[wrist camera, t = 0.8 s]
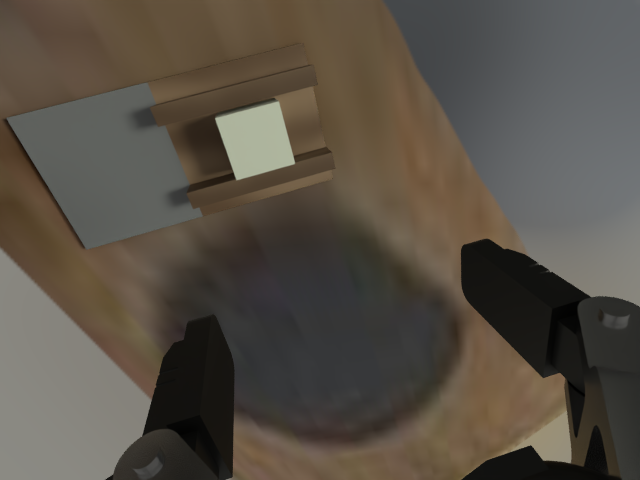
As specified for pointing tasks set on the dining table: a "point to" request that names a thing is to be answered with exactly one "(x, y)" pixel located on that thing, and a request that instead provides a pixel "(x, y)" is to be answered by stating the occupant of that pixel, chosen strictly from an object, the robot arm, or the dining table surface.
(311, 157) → the chute
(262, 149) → the pale block
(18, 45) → the dining table surface
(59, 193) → the pad
